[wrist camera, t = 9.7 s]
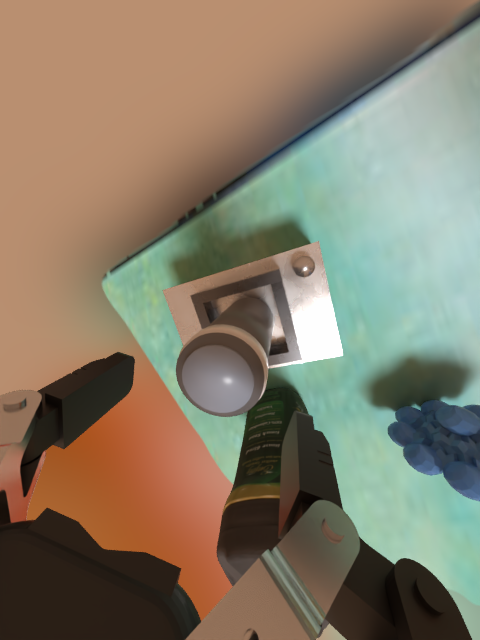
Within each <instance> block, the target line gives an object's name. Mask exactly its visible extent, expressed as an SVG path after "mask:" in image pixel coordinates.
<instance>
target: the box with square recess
mask: <svg viewBox="0 0 480 640" xmlns="http://www.w3.org/2000/svg"><path fill="white" fill-rule="evenodd" d="M163 293H164V295H165V298H166V301H167V303H168V306H169V309H170V311H171V314H172V316H173V319H174V322H175V324H176V327H177V330H178V332H179V335H180V338H181V340H182V343H183V346H184V345H185V344H186V342H187V341H188V340H189V339H191V338H192V337H193V336H194V335H195V334H196V333H197V332H199V331H200V330H202V329H204V328H206V327H208V326H209V325H210V324H211V323H212V322H213V321H214V320H215V319H216V318H217V317H219V316H220V315H221V314H222V313H223V312H224V311H225V310H226V309H227V308H228V307H229V306H231V305H232V304H233V303H234V302H235V301H237V300H239V299H242V298H247V297H251V298H256V299H259V300H261V301H263V302H264V303H265V304H266V305H267V306H268V307H269V308H270V309H271V311H272V313H273V316H274V329H273V334H272V340H271V346H270V351H269V357H268V367H269V368H275V367H280V366H286V365H292V364H297V363H303V362H308V361H314V360H319V359H325V358H331V357H336V356H342V355H343V353H342V348H341V343H340V339H339V334H338V329H337V324H336V320H335V315H334V310H333V306H332V301H331V296H330V292H329V287H328V282H327V277H326V273H325V268H324V263H323V259H322V254H321V249H320V245H319V241H318V242H315V243H311V244H308V245H305V246H302V247H299V248H295V249H292V250H289V251H286V252H283V253H280V254H276V255H273V256H270V257H267V258H264V259H260V260H257V261H254V262H251V263H248V264H244V265H241V266H238V267H235V268H232V269H229V270H225V271H222V272H219V273H216V274H213V275H209V276H206V277H203V278H200V279H197V280H194V281H190V282H187V283H184V284H181V285H178V286H174V287H171V288H168V289H165V290H163Z"/></svg>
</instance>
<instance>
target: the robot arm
mask: <svg viewBox="0 0 480 640" xmlns="http://www.w3.org/2000/svg"><path fill="white" fill-rule="evenodd" d="M134 363H135V359H134V358H133V357H132V356H129V355H126V354H123V353H120V352H117V353H115V354H113V355H111V356H109V357H107V358H106V359H105V358H103V359H100V360H96V361H93V362H91V363H89V364H87V365H85V366H83V367H81V369H77V370H75V371H74V372H72V374H71V373H70V374H68V375H66V376H65V377H63V378H61V379H59V380H57V381H55V382H53V383H51V384H50V385H48V386H46V387H44V388H42V389H40V390H38V391H33V390H19V391H13V392H9V393H6V394H4V395H1V396H0V640H316V638H317V636H318V634H319V632H320V630H321V627H322V623H323V620H324V619H326V620H327V621H328V622H329V623H330V624H331V625H332V626H333V627H334V628H335V629H336V630H337V631H338V632H339V633H340V634H341V635H342V636H344V637H345V638H346V639H347V640H472V638H471V636H470V634H469V631H468V629H467V627H466V625H465V622H464V620H463V618H462V615H461V613H460V611H459V609H458V607H457V605H456V603H455V602H454V600H453V598H452V597H451V595H450V594H449V592H448V591H447V590H446V588H445V587H444V586H443V584H442V583H441V582H440V581H439V580H438V579H437V578H436V577H435V576H434V575H433V574H432V573H431V572H430V571H429V570H428V569H426V568H425V567H424V566H422V565H421V564H419V563H418V562H416V561H414V560H411V559H407V558H403V559H400V560H398V561H397V562H396V564H395V565H394V564H393V563H392V562H390V561H389V560H388V559H386V558H385V557H384V556H382V555H381V554H380V553H378V552H377V551H375V550H374V549H373V548H371V547H370V546H369V545H368V544H366V543H365V542H364V541H363V540H362V539H361V538H360V537H359V535H358V532H357V529H356V527H355V525H354V524H353V522H352V520H351V519H350V517H349V516H348V515H347V514H346V513H345V512H344V511H343V508H342V503H341V498H340V493H339V489H338V484H337V479H336V474H335V469H334V467H333V460H332V457H331V450H330V446H329V443H328V441H327V439H326V438H325V436H324V434H323V433H322V432H320V431H317V430H314V424H313V417H312V416H311V415H308V414H305V413H301V412H298V411H294V413H293V415H292V418H291V421H290V423H289V426H288V429H287V431H286V434H285V437H284V441H283V445H282V456H281V481H280V506H279V531H278V538H279V539H282V540H281V541H280V542H279V543H278V544H277V545H276V547H275V548H274V549H272V550H271V549H268V550H266V551H265V552H264V553H263V554H262V555H261V556H260V557H259V558H258V559H257V560H256V562H255V563H254V564H253V565H252V566H251V567H250V568H249V569H248V570H247V572H246V573H245V574H244V575H243V576H242V577H241V578H240V579H239V580H238V582H237V583H236V584H235V585H234V586H233V587H232V588H231V589H230V590H229V592H228V593H227V594H226V595H225V596H224V597H223V598H222V599H221V600H220V602H219V603H218V604H217V605H216V606H215V607H214V608H213V609H212V610H211V612H210V613H209V614H208V615H207V616H206V617H205V618H204V619H203V620H202V622H201V620H200V617H199V615H198V612H197V610H196V608H195V606H194V604H193V602H192V600H191V599H190V598H189V596H188V595H187V593H186V592H185V591H184V590H183V588H182V587H181V586H180V585H179V584H178V580H179V575H180V571H181V568H179V567H177V566H175V565H172V564H170V563H168V562H166V561H163V560H161V559H159V558H157V557H155V556H152V555H150V554H148V553H144V552H131V551H116V550H106V549H103V548H101V547H100V546H99V545H98V544H97V542H96V541H95V540H94V539H93V538H92V537H91V536H90V535H89V534H88V532H86V530H85V529H84V528H83V527H82V526H81V525H80V524H79V522H77V521H75V520H73V519H71V518H69V517H66V516H64V515H62V514H60V513H58V512H56V511H53V510H51V509H49V508H46V509H45V510H44V511H43V512H42V513H41V515H40V516H39V517H38V518H37V519H36V520H28V521H26V518H27V510H28V506H29V503H30V500H31V497H32V494H33V491H34V488H35V485H36V482H37V480H38V477H39V474H40V471H41V468H42V465H43V462H44V459H45V456H46V450H47V449H48V448H49V447H50V446H52V445H55V446H58V447H60V448H62V449H65V448H66V447H67V446H69V445H70V444H71V443H72V442H73V441H74V440H75V439H77V438H78V437H79V436H80V435H81V434H82V433H84V432H85V431H86V430H87V429H88V428H89V427H91V426H92V425H93V424H94V423H95V422H96V421H98V420H99V419H100V418H101V417H102V416H103V415H104V414H106V413H107V412H108V411H109V410H110V409H111V408H113V407H114V406H115V405H116V404H117V403H118V402H120V400H122V399H123V398H124V397H125V396H126V395H127V394H128V393H129V392H130V390H131V388H132V385H133V375H134Z"/></svg>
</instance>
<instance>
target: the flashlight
mask: <svg viewBox="0 0 480 640" xmlns="http://www.w3.org/2000/svg"><path fill="white" fill-rule="evenodd" d="M273 329H274V316H273V313H272V311H271V309H270V308H269V307H268V306H267V305H266V304H265V303H264V302H263V301H261V300H259V299H256V298H251V297H247V298H242V299H239V300H237V301H235V302H234V303H233V304H232V305H231V306H229V307H228V308H227V309H226V310H225V311H224V312H223V313H222V314H221V315H220V316H219V317H217V318H216V319H215V320H214V321H213V322H212V323H211V324H210V325H209V326H208V327H206V328H204V329H202V330H200V331H199V332H197V333H196V334H195V335H194V336H193V337H192V338H191V339H189V340H188V341H187V342H186V344H185V345H184V346H183V348H182V350H181V352H180V354H179V358H178V360H177V365H176V376H177V381H178V384H179V386H180V389H181V391H182V392H183V394H184V395H185V396H186V398H187V399H188V400H189V401H190V402H191V403H192V404H193V405H194V406H196V407H197V408H199V409H200V410H202V411H204V412H206V413H209V414H212V415H215V416H221V417H231V416H237V415H240V414H243V413H245V412H247V411H248V410H250V409H251V408H252V407H253V406H254V405H255V404H256V403H257V402H258V400H259V399H260V398H261V397H262V395H263V393H264V391H265V388H266V384H267V378H268V370H269V367H268V357H269V351H270V346H271V340H272V334H273Z"/></svg>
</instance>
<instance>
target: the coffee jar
mask: <svg viewBox="0 0 480 640" xmlns="http://www.w3.org/2000/svg"><path fill="white" fill-rule="evenodd" d="M294 411H298V412H301V413H305V414H308V412H307V409H306V407H305V405H304V403H303V402H302V400H301V398H300V397H299V395H298V394H297V393H295V392H294V391H292V390H290V389H286V388H276V389H270V390H266V391H264V393H263V395H262V397H261V398H260V399H259V400H258V402H257V403H256V404H255V405H254V406H253V407H252V408H251V409H250V410H248V413H247V419H246V425H245V431H244V437H243V442H242V447H241V452H240V458H239V463H238V468H237V473H236V477H235V481H234V485H233V488H232V491H231V493H230V495H229V497H228V499H227V501H226V504H225V506H224V509H223V515H222V521H221V527H220V533H219V539H218V545H217V557H218V561H219V563H220V564H221V567H222V568H223V570H224V572H225V574H226V576H227V578H228V579H229V581H230V583H231V584H232V586H234V585H235V584H236V583H237V582H238V580H239V579H240V578H241V577H242V576H243V575H244V574H245V573H246V572H247V570H248V569H249V568H250V567H251V566H252V565H253V564H254V563H255V562H256V560H257V559H258V558H259V557H260V556H261V555H262V554H263V553H264V552H265V551H266V550H268V549H271V550H272V549H274V548H275V547H276V545H277V544H278V543H279V542H280V541H281V540H282V539H279V538H278V531H279V506H280V481H281V456H282V445H283V441H284V437H285V434H286V431H287V429H288V426H289V423H290V421H291V418H292V415H293V413H294ZM308 415H309V414H308ZM328 624H329V622H328V621H327V620H326V619H324V620H323V623H322V627H321V630H320V632H319V634H318V636H317V638H319V637H320V636H321V634H322V632H323V630H324V629H325V628H326V627H327V625H328Z"/></svg>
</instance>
